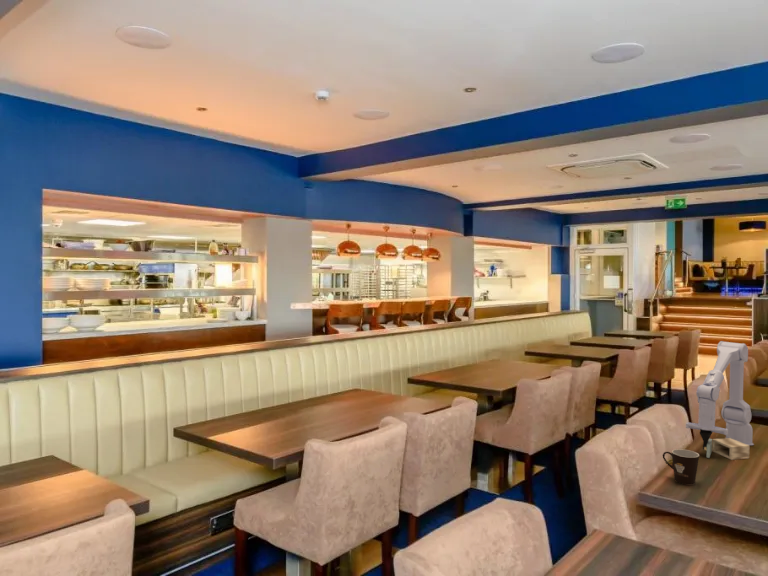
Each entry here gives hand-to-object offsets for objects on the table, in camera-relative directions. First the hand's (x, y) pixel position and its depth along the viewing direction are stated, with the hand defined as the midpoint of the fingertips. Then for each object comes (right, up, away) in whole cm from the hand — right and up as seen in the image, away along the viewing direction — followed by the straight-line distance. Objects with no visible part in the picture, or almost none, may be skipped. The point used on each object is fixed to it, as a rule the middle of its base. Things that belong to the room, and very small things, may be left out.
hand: (705, 448), depth 229 cm
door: (+2, -2, +1) cm, 3 cm away
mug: (-16, -4, -11) cm, 20 cm away
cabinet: (+10, -3, +1) cm, 11 cm away
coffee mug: (-22, -4, -25) cm, 34 cm away
